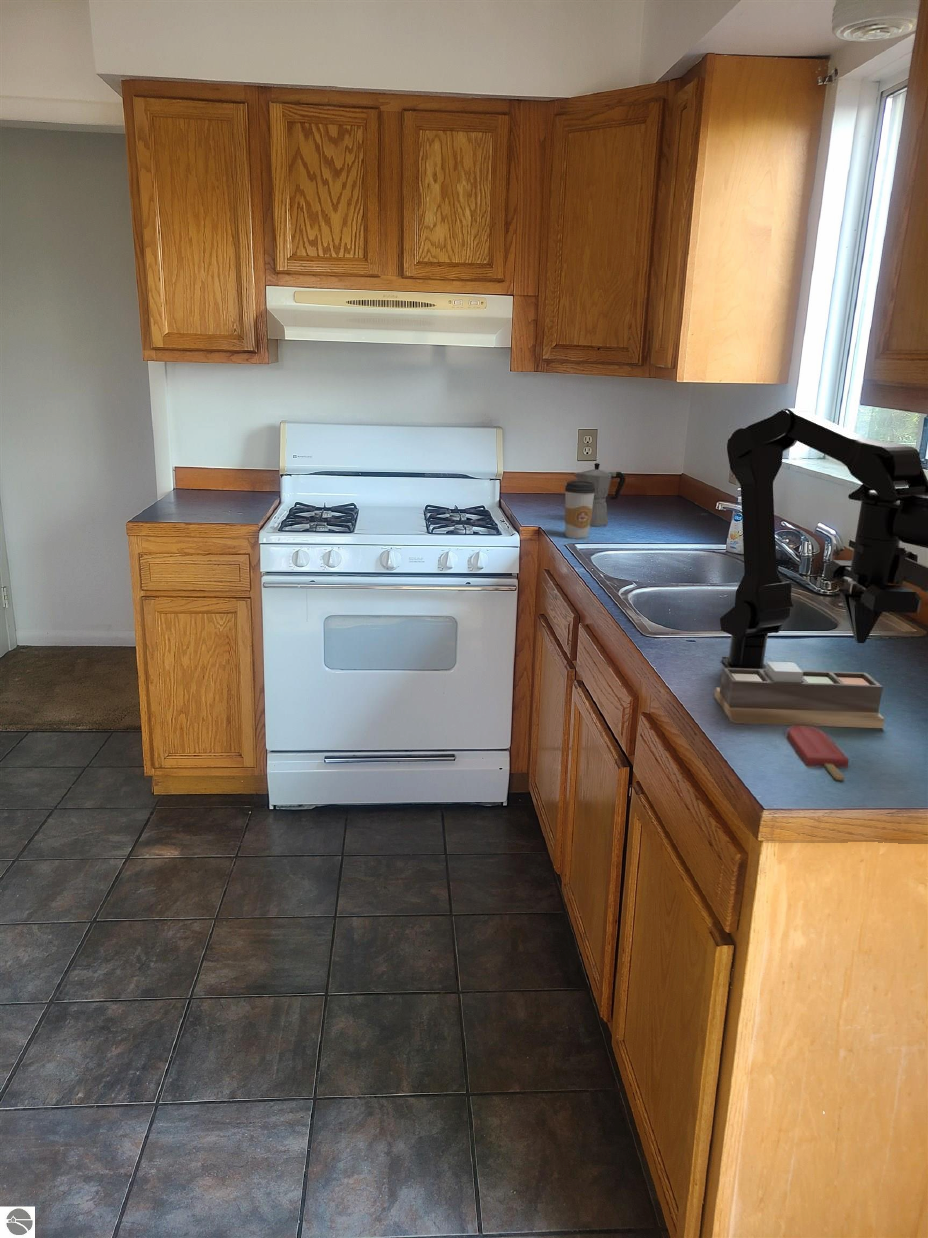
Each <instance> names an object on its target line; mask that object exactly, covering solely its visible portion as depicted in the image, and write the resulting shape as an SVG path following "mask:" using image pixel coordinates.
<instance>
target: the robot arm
mask: <svg viewBox="0 0 928 1238" xmlns="http://www.w3.org/2000/svg"><path fill="white" fill-rule="evenodd" d="M797 442H799V443H801V444H803V445H805V446H807V447H808V448H811V449H813V450H815V451H818V452H819V453H821V454H824V455H826V456H828V457H830V458H832V459H834V460H836V461H838V462H840V463H841V464H843V466H846V468H847V469H848V472H849V473H850V475H851V476H852V477H854V478H855V479H856V480H857V481H859V482H860V483H861V485H860V486H859V487H858V488H857V489H855V490H854V491H852V492H851V493H848V499H849V500H853V501H855V502H860V508H859V514H858V521H857V526H856V533H855V538H854V539H853V538H852V539H851V538H849V541H848V547H849V548H851V549H853V552H852V556H851V560H843V559H842V560H841V559H840V560H839V559H838V560H837V559H831V561H829V562H828V563H827V564H826V565H825V568H824V573H823V578H824V579H825V580H826V581H829V582H831V583H834V582H835V581H836V580H837V579H843V580H844V587H843V588H839V589H838V591H837V592H838V594H839V595H840V598H841V601H842V603H843V608H844V609H845V613H846V617H847V619H848V622H849V626H850V628H851V632H852V635H853V639H854V641H855V642H856V643H857V644H865V643H866V642H867V639H868V637H869V636H870V635H871V633H872V630H873V629H874V627H875V625H876V623H877V622H878V620H879V619H880V617H881V616H882V614H883V613H900V614H901V613H903V614H905V613H907V614H918V613H920V609H921V604H922V597H921V596H920V595H919V594H918V593H917V591H915V590H914V589H911V588H910V587H908V586H906V585H903V584H904V582H905V583H907V584H909V585H912V586H915V587H917V588H919V589H920V590H921V591H923V592H925V593H928V566H927V565H924V564H922V563H920V562H918V561H919V560H918V559H919V557H918V556H919V555H918V554H916V553H915V552H912V551H910V550H908V549H906V547H904V546H902V545H900V543H904V544H907V545H912V546H916V547H921V548H926V549H928V477H927V475H926V473H925V471H924V468H923V466H922V459H921V457H920V454H921V453H920V452H919V450H917V448H915V447H914V446H912V445H909V444H908V445H907V444H904V443H903V444H902V443H898V442H893V441H887V440H879V439H875V438H874V439H872V438H868V437H865V436H863V435H860V434H858V433H856V432H854V431H852V430H849V429H847V428H845V427H842V426H840V425H838V424H836V423H834V422H831V421H830V420H827V419H824V417H823V418H822V417H820V416H818V415H816V414H813V412H812V411H810V410H808V409H806V408H783V409H781V410H779V411H777V412H776V413H774V414H772V415H771V416H769V417H767V418H764V419H762V420H759V421H757V422H754V423H753V424H749V425H748V426H746V427H742V428H738V429H736V430H735V431H734V432H733V433H732V434H731V436H730V437H729V438H728V440H727V443H726V451H727V457H728V464H729V469H730V470H731V473H732V474H733V475H734V477H735V479H736V481H737V482H738V484H739V487H740V502H741V504H740V505H741V523H742V544H743V545H742V546H743V563H744V566H743V568H744V569H743V570H744V573H743V576H742V578H741V580H740V582H739V584H738V586H737V589H736V591H735V596H734V597H735V598H734V606H733V607H731V609H730V610H729V611H727V612H726V613H725V614H723V615H722V616H720V619H719V622H720V630H721V631H722V632H724V633H726V634H729V635H731V636H730V645H729V652H728V656H722V657H721V661H722V662H723V663H724V665H725V666H726V668H747V669H766V664H765V658H766V650H767V644H768V636H769V634H772V633H773V634H778V633H779V632H780V630H781V628H782V627H783V624H784V623H785V622H786V620H787V619H789V617H790V614H791V608H794V605H793V602H792V601H793V600H792V589H793V588H792V584H791V582H789V581H788V582H783V580H782V578H781V577H780V574H778V573H779V572H778V570H777V552H776V550H777V549H776V547H777V545H776V532H775V531H776V530H775V528H776V527H775V526H776V524H775V523H776V522H775V507H774V506H775V502H774V501H775V500H774V482H775V479H776V477H777V475H778V473H779V472H780V469H781V467H782V465H783V456H784V452H786V451H787V450H789V449H790V448H792V447H794V446H795V445H796V444H797Z"/></svg>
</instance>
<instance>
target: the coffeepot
mask: <svg viewBox="0 0 928 1238" xmlns="http://www.w3.org/2000/svg"><path fill="white" fill-rule="evenodd" d="M600 466H601V464H600V463H599V462H595V463H594V469H590V470H584V471H579V472H576V473H574V474H573V476H574V477H575V478H576V479H577V481H588V482H592V483H594V487H595V493H594V499H593V506H592V508H593V509H592V516H591V523H590V527H591V528H592V527H594V528H601V527H605V526H607V525H608V523H609V520H608V519H609V518H608V507H607V502H606V500H607V497H608V495H609V494H608V493H609V489H610V485H611V480H613V479H619V481H618V483H617V487H616V489H615V492H614V495H613V496H610V500H613V501H614V500H618V499H619V497H620V494H621V491H622V490H623V487H624V484H625V482H626V476H625V475H624V474H623V472H621V471H604V470H602V469H600Z"/></svg>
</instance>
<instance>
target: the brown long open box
mask: <svg viewBox="0 0 928 1238" xmlns="http://www.w3.org/2000/svg"><path fill="white" fill-rule="evenodd" d="M765 670H766V669H747V668H728V667H722V671H721V678H720V685H719V687H715V691H714V698H715V699H716V701H717V703H718V704H719V705H720V706H721V708H722V710H723V711H724V712H725V714H726V715H727V717H728V718H729V720H730V721H731V723H732V724H747V725H748V724H750V725H751V724H753V725H775V726H777V725H781V726H783V725H784V726H798V725H801V726H809V727H835V728H836V727H839V728H867V729H868V728H869V729H870V728H871V729H883V728H884V723H885V717H884V716H883V715H881V714H880V713H879V711H880V710H879V709H880V705H881V699H882V694H883V687H884V686H883V685H881V684H880V683H879V682H878V681H877V680H875V679H874V678H873V677H872V676H871V675H869V674H868V673H867V672H864V671H863V672H861V671H859V672H857V671H856V672H855V671H828V670H804V669H803V670H802V669H801V670H802V671H803V676H820V677H828V678H829V679H830V680H831V681H832V682H833V683H834V684H828V683H808V682H807V681H806V680H805V679H804V678H803V677H802V683H800V682H772V680H771V679H770V678H769V677H768V676H767V675H766V674H765ZM731 673H734V674H757V675H758V676H759V677H760V679H761V680H762V681H742V680H736V679H735V678H734V677H733V675H732V674H731ZM838 677H850V678H863V679H864V680H865V681H866V682H867V683H868V684H869V685H857V684H844V683H843V682H842V681H841V680H840V679H839V678H838Z"/></svg>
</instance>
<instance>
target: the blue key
mask: <svg viewBox="0 0 928 1238" xmlns="http://www.w3.org/2000/svg"><path fill="white" fill-rule="evenodd" d="M765 665H766V670H765V674H766V675H767V676H768V677H769V678H770V679H771V680H772V682H800V683H802V677H803V671H802V669H801V668H800V667H799V666H798V665H797V664H796V663H795V662H789V661H787V662H785V661H766V664H765Z"/></svg>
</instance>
